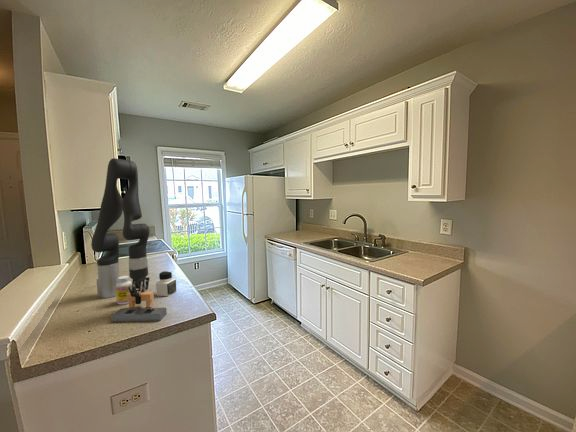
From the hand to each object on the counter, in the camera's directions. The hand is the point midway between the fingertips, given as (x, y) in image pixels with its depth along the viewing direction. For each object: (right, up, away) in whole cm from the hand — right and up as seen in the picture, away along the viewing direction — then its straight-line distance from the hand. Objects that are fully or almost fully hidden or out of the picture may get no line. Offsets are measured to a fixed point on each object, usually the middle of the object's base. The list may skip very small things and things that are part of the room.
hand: (140, 302), depth 117 cm
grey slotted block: (+5, -4, -10) cm, 12 cm away
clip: (0, -2, 0) cm, 2 cm away
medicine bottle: (+4, -2, +17) cm, 18 cm away
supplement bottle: (-12, -3, +7) cm, 14 cm away
